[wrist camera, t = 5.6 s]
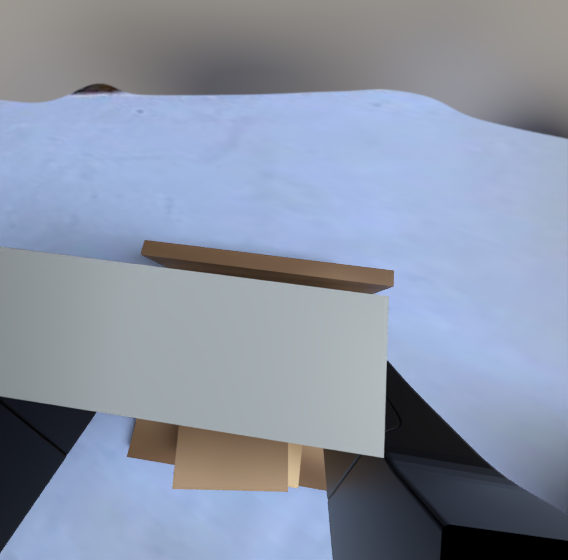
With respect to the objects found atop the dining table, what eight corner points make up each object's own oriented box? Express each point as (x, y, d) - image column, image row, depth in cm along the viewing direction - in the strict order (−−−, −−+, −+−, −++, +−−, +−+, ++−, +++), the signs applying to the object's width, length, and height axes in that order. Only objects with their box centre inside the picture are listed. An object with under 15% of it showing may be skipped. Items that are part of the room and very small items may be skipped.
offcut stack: (296, 472, 14) (299, 510, 11) (186, 454, 15) (161, 486, 12) (306, 377, 16) (311, 389, 13) (205, 362, 16) (186, 371, 13)
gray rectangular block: (301, 344, 14) (383, 457, 2) (214, 332, 15) (-168, 368, 2) (303, 320, 15) (388, 296, 2) (219, 309, 15) (-95, 234, 3)
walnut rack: (353, 484, 15) (386, 562, 10) (137, 448, 16) (68, 504, 11) (364, 285, 18) (394, 270, 13) (182, 262, 19) (144, 240, 14)
